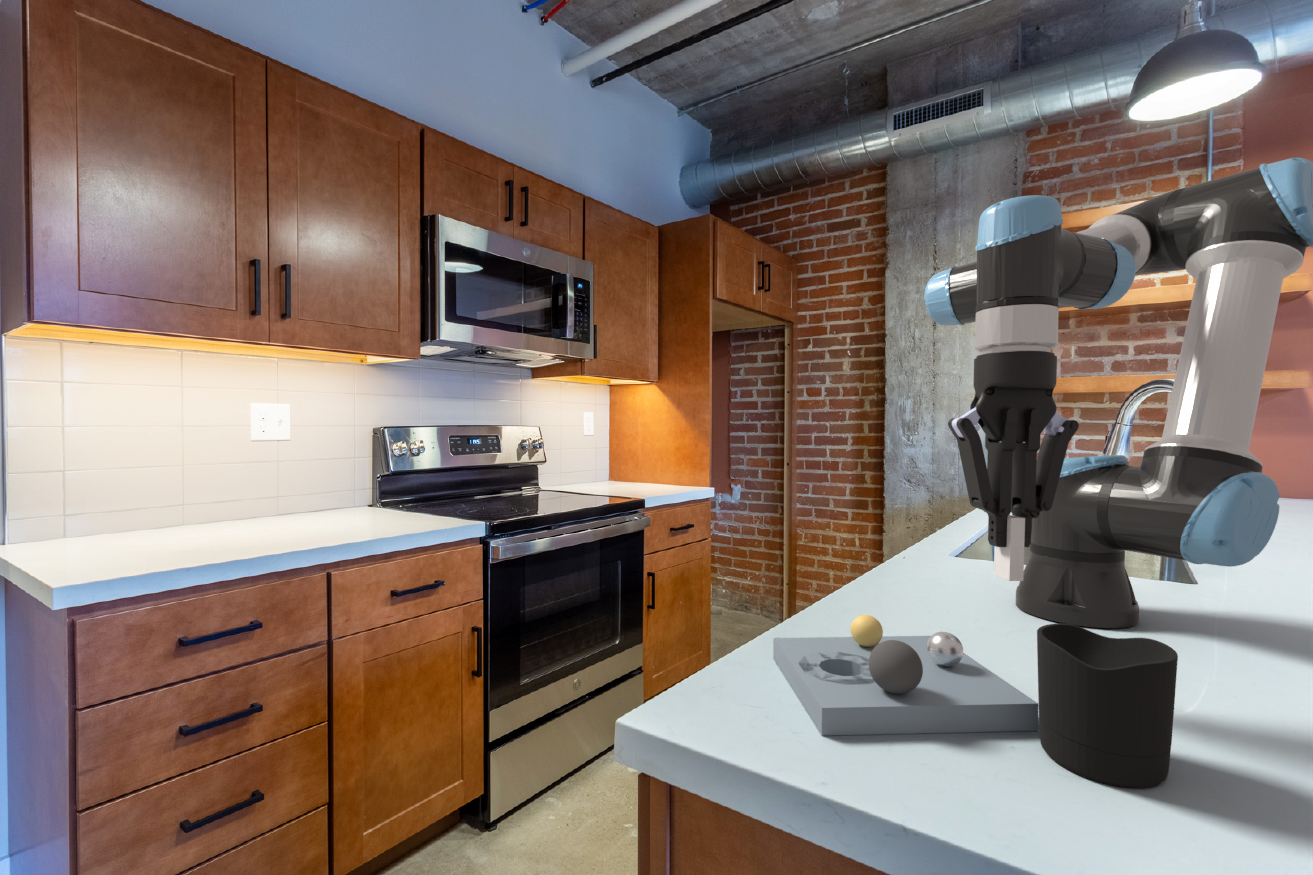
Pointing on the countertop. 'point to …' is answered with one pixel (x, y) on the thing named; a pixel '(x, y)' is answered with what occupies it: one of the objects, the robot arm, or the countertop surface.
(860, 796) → the countertop surface
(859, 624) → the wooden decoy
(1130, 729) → the pen holder
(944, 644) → the steel ball
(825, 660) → the plate
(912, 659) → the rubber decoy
